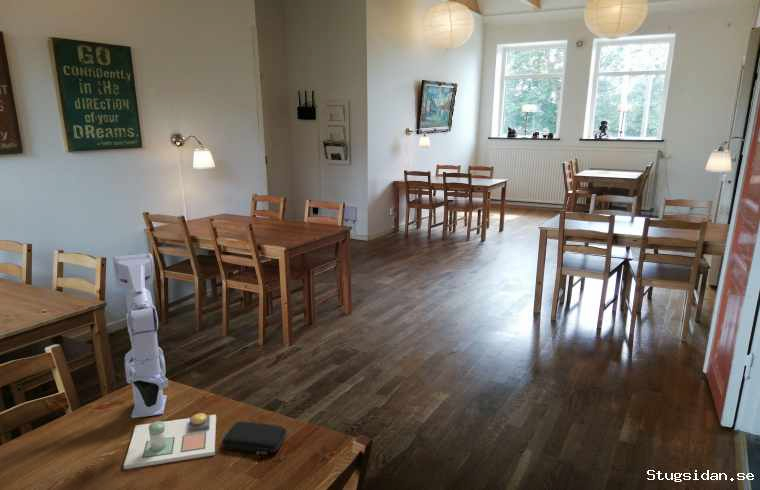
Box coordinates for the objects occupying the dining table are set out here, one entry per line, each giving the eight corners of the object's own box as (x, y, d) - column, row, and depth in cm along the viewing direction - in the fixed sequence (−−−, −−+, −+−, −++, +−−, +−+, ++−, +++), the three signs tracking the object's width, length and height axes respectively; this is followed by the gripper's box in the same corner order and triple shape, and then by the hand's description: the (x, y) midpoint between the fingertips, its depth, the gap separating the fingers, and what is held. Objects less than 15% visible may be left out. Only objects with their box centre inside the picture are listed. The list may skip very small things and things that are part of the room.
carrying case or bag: (217, 453, 121) (274, 461, 119) (216, 442, 121) (273, 450, 119) (235, 428, 132) (288, 434, 130) (235, 417, 131) (288, 424, 129)
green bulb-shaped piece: (152, 443, 122) (150, 422, 121) (167, 441, 123) (165, 420, 122) (149, 452, 119) (147, 430, 118) (165, 450, 120) (163, 428, 118)
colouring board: (136, 428, 130) (135, 421, 129) (216, 417, 135) (215, 410, 135) (124, 469, 115) (123, 461, 114) (214, 455, 120) (214, 447, 120)
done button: (192, 421, 131) (192, 414, 131) (207, 419, 132) (206, 412, 132) (191, 428, 128) (191, 422, 127) (206, 426, 129) (205, 420, 128)
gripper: (114, 352, 122) (120, 401, 125) (146, 370, 113) (151, 422, 117) (141, 343, 127) (146, 390, 130) (174, 359, 119) (178, 409, 122)
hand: (150, 404), depth 124 cm, fingers closed
